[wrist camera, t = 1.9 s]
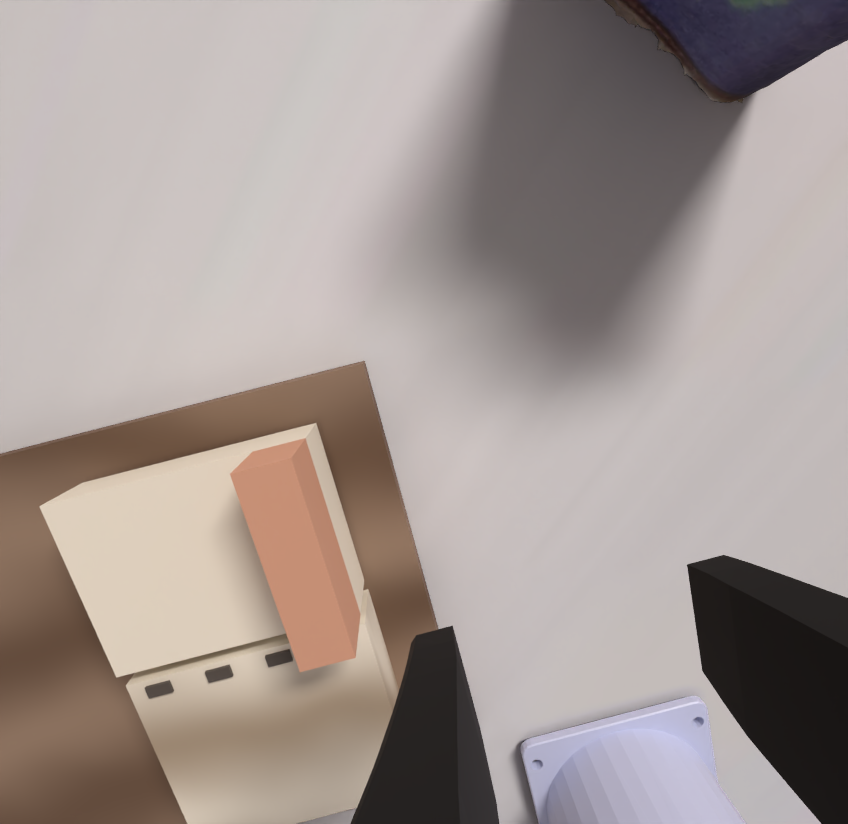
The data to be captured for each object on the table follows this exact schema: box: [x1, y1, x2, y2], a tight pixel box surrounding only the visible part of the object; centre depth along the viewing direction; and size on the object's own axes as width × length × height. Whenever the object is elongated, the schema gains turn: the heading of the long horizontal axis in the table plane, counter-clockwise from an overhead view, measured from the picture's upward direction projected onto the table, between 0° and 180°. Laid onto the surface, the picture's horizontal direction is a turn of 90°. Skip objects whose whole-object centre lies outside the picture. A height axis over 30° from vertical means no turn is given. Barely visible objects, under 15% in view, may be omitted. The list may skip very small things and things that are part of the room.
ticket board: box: [0, 361, 438, 824], centre depth 17 cm, size 16×20×3 cm
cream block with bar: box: [39, 423, 364, 678], centre depth 15 cm, size 6×8×4 cm
